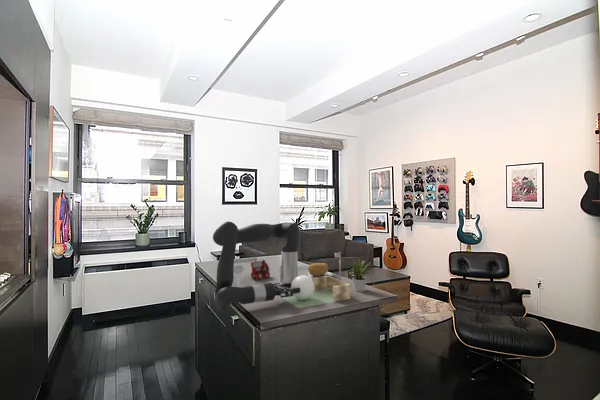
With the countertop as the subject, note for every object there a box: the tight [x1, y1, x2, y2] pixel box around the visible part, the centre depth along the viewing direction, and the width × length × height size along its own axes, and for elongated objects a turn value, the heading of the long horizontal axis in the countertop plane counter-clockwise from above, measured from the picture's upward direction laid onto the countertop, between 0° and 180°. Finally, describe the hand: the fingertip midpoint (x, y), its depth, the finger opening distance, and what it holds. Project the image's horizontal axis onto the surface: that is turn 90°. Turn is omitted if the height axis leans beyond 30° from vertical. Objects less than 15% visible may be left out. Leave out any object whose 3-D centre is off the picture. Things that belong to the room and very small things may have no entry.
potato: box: [307, 262, 329, 277], centre depth 194 cm, size 10×14×8 cm
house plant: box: [348, 258, 372, 292], centre depth 162 cm, size 14×14×16 cm
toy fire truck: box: [250, 259, 271, 281], centre depth 189 cm, size 7×12×10 cm, turn 132°
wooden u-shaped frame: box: [311, 251, 351, 303], centre depth 155 cm, size 11×19×20 cm, turn 29°
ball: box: [291, 274, 315, 300], centre depth 148 cm, size 11×11×11 cm
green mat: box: [282, 289, 352, 309], centre depth 151 cm, size 28×20×1 cm
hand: (295, 287), depth 146 cm, fingers open, 8 cm apart
